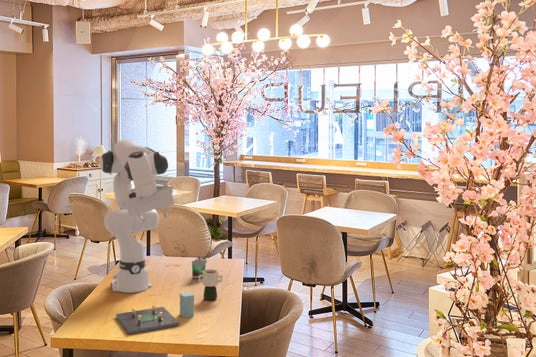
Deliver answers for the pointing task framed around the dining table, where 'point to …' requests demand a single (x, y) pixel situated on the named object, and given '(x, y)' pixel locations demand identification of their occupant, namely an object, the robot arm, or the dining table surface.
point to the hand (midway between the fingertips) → (155, 219)
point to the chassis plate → (146, 320)
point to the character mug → (210, 283)
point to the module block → (186, 304)
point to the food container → (198, 267)
